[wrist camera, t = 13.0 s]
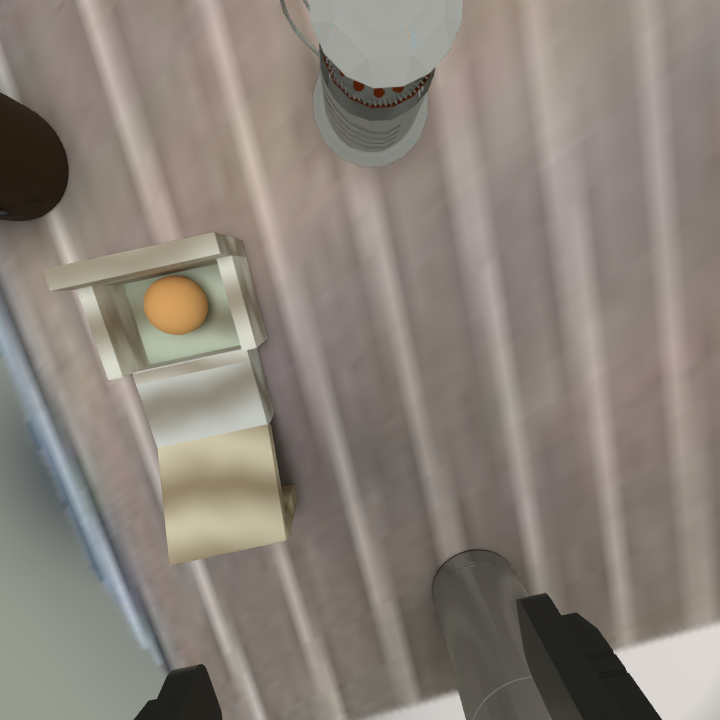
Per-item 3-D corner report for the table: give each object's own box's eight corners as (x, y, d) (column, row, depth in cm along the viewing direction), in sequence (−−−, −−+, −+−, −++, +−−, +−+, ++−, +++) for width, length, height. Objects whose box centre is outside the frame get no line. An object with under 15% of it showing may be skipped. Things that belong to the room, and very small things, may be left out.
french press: (389, 190, 37) (477, 26, 12) (272, 113, 35) (105, -249, 11) (451, 84, 35) (692, -345, 11) (331, -1, 34) (294, -730, 9)
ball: (209, 337, 34) (221, 315, 39) (185, 279, 32) (201, 263, 37) (149, 350, 34) (169, 327, 39) (122, 292, 32) (146, 275, 37)
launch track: (309, 496, 42) (301, 546, 35) (190, 521, 43) (154, 577, 35) (241, 240, 37) (214, 231, 29) (105, 270, 37) (42, 269, 29)
